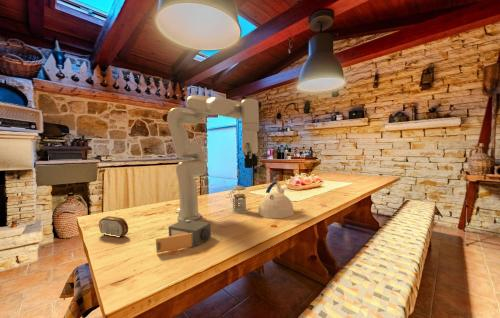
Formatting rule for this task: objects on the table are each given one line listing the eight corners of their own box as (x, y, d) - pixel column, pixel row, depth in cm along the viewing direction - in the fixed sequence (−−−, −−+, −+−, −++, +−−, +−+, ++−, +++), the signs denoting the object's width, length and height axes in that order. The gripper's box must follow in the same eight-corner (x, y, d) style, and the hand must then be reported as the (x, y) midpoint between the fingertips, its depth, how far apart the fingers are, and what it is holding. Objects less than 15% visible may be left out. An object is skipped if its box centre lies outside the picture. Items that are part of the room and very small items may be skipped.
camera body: (168, 241, 86) (167, 225, 86) (185, 232, 95) (184, 217, 95) (198, 247, 80) (197, 230, 80) (213, 237, 89) (212, 221, 89)
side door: (156, 253, 75) (155, 240, 75) (156, 252, 76) (156, 238, 76) (193, 246, 79) (193, 233, 79) (193, 245, 81) (192, 232, 81)
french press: (241, 214, 119) (240, 170, 117) (225, 212, 125) (224, 170, 124) (251, 210, 127) (249, 168, 126) (235, 207, 133) (234, 168, 132)
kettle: (299, 210, 124) (298, 180, 123) (285, 221, 106) (284, 185, 105) (268, 206, 134) (267, 178, 134) (251, 215, 117) (250, 183, 116)
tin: (129, 236, 93) (128, 217, 93) (123, 239, 90) (121, 220, 90) (104, 233, 98) (103, 215, 97) (98, 235, 95) (96, 217, 94)
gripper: (247, 130, 102) (248, 165, 103) (235, 126, 85) (237, 168, 86) (262, 129, 100) (263, 165, 101) (253, 125, 83) (254, 168, 84)
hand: (251, 166), depth 93 cm, fingers open, 9 cm apart
